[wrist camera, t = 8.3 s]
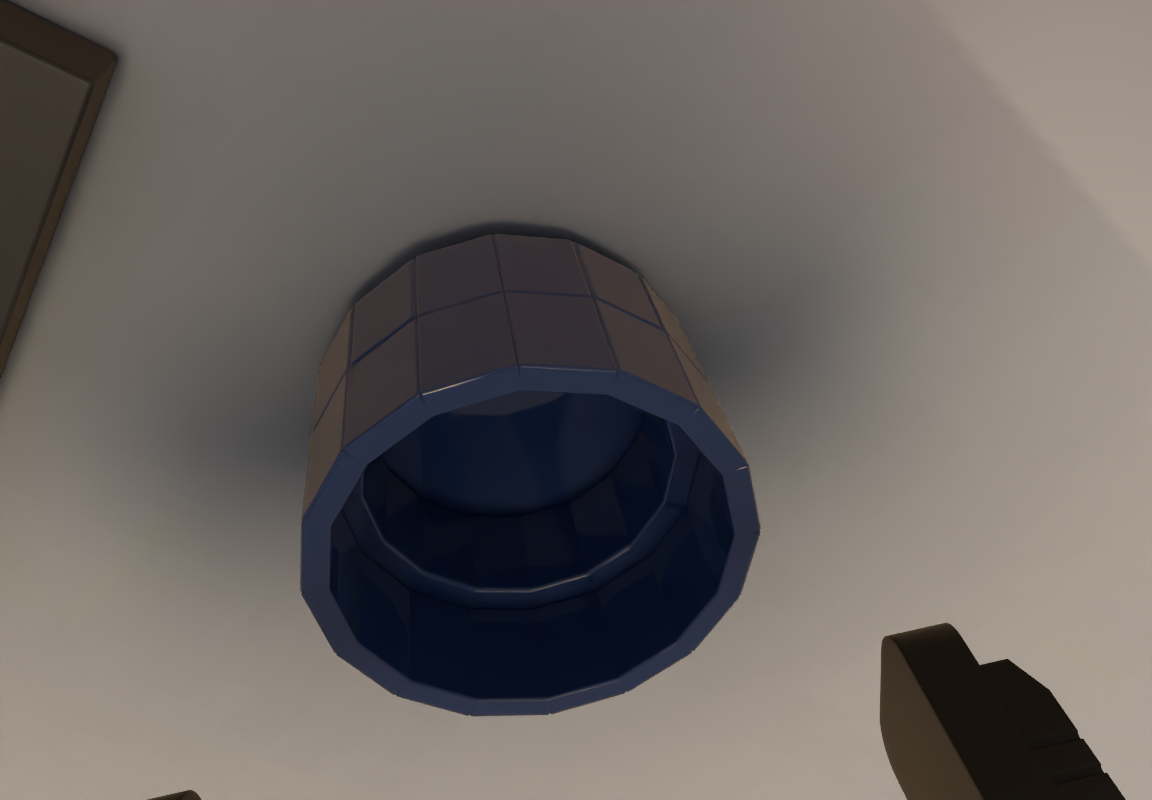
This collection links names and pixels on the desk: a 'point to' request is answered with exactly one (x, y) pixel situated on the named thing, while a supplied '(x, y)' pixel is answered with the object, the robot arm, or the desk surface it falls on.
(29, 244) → the scale
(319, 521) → the bowl
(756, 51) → the desk surface
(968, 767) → the robot arm
